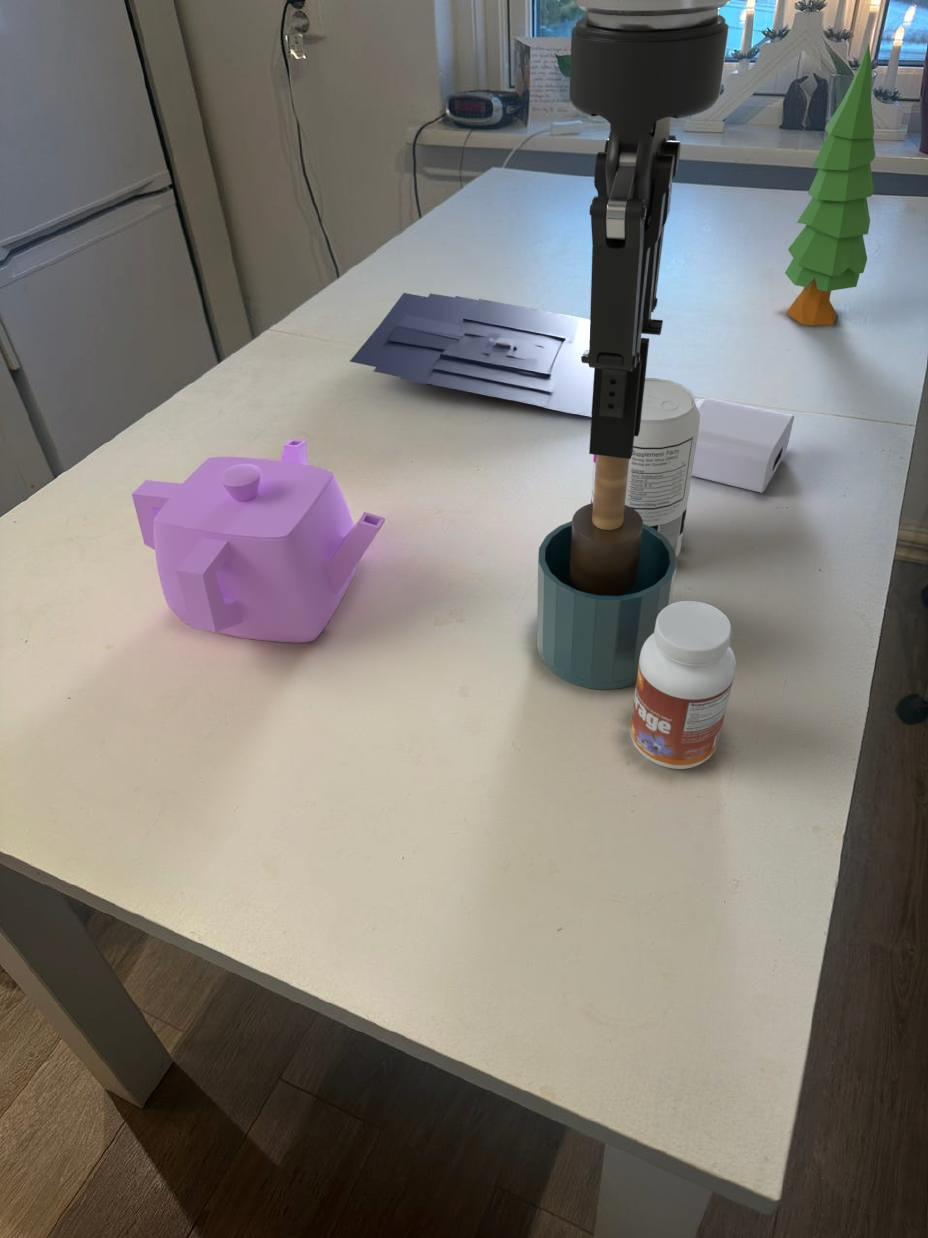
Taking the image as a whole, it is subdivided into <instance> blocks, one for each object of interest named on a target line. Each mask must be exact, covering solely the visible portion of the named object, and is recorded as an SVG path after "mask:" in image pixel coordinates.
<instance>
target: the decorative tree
mask: <svg viewBox="0 0 928 1238" xmlns="http://www.w3.org/2000/svg"><path fill="white" fill-rule="evenodd" d="M872 72H873V68H872V59H871V49H870V43H868V44H867V47H866V49H865V51H864V54H863V56H862V59H861V62H860V64H859V67H858V69H857V71H856V72H855V75H854V77H853V79H852V81H851V83H850V85H849V87H848V89H847V90H846V92H845V95H844V97H843V99H842V101H841V102H840V104H839V105H838V107H837V109H836V110H835V112H834V114H833V115H832V116H831V118H830V120H829V122H828V123H827V124H826V126H825V127H824V130H825V131H826V132H827V134H826V136H825V139H824V141H823V143H822V145H821V148H820V150H819V152H818V154H817V156H816V158H815V160H814V163H813V164H812V167H814V168H816V169H818V170H817V172H816V175H815V177H814V178H813V181H812V183H811V185H810V188H809V189H808V192H807V194H808V195H809V196H811V199H810V200H809V202H808V204H807V205H806V207H805V209H804V210H803V212H802V214H801V215H800V217H799V218H798V219H797V221H796V223H797V224H802V225H805V227H803V229H802V230H801V231H800V233H799V234H798V235H797V236H796V238H795V239H794V241H793V242H792V243H791V244H790V246H789V247H788V249H787V250H788V252H789V254H790V255H791V257H792V259H791V261H790V263H789V265H788V266H787V268H786V270H785V271H784V274H785V276H787V278H788V279H789V280H790V282H791V283H792V284H793V285H794V286H797V287H802V288H803V289H802V290H801V292H800V293H799V294H798V296H797V297H796V298H795V300H794V301H793V302H792V304H791V306H789V308H788V309H787V310H786V312H785V315H787V316H789V317H790V318H791V319H793V320H795V321H796V322H798V323H800V324H801V325H805V326H812V327H813V326H834V325H835V322H836V318H837V312H836V310H835V307H834V306H833V304H832V302H831V300H830V299H831V294H832V292H833V291H839V290H845V289H852V288H857V286H858V283H859V279H860V276H861V274H864V272H865V269H866V266H867V265H866V264H867V262H868V255H867V249H866V245H865V239H864V235H868V234H869V231H870V225H871V218H870V212H869V211H870V210H869V205H868V198H871V197H872V196H873V193H874V191H875V186H874V179H873V171H872V167H871V165H872V164H871V163H872V162H873V161H874V160H875V158H876V157H877V156H876V149H875V142H874V141H875V140H874V135H875V125H874V117H873V115H874V114H873V108H872V107H873V106H872V105H873V104H872V76H873V75H872V74H873V73H872Z"/></svg>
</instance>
